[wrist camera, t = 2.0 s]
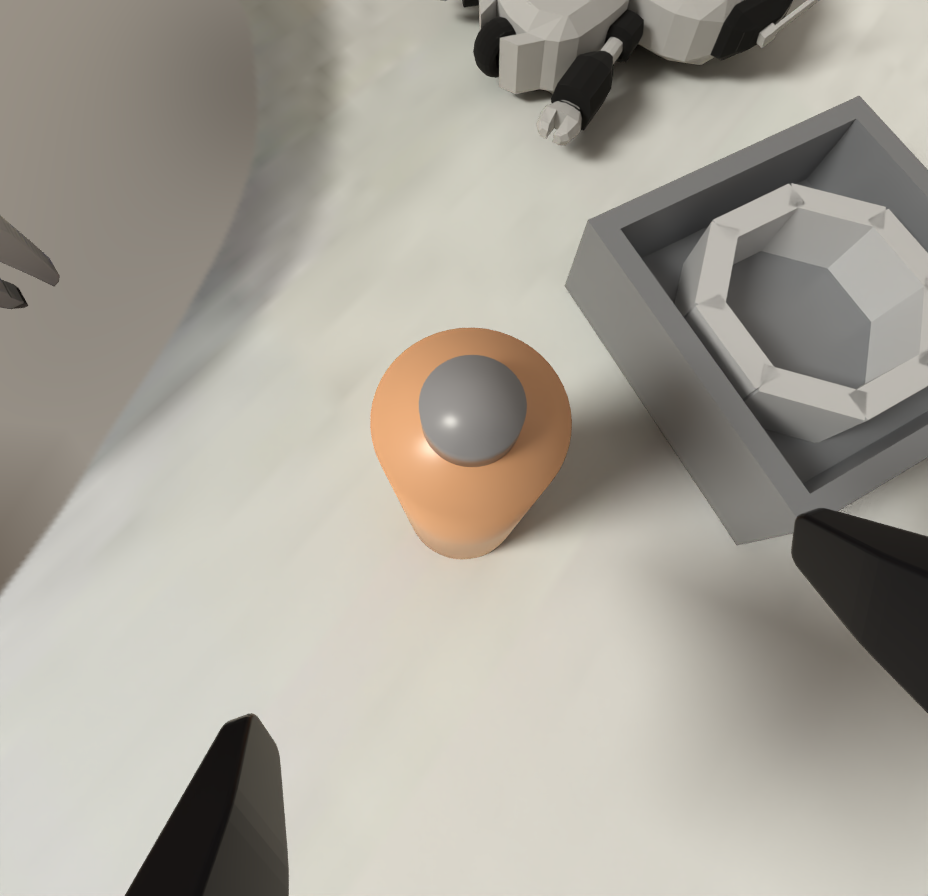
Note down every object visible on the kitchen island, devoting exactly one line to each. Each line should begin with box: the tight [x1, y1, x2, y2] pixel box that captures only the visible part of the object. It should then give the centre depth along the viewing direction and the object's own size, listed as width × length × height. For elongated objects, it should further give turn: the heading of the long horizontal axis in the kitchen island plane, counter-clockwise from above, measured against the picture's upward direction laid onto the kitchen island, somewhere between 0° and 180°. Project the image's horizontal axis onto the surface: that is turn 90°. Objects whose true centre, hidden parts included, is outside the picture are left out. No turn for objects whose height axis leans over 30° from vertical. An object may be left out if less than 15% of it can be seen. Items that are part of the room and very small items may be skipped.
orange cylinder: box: [370, 328, 572, 559], centre depth 15 cm, size 4×4×10 cm
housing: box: [565, 96, 928, 545], centre depth 20 cm, size 12×12×4 cm
